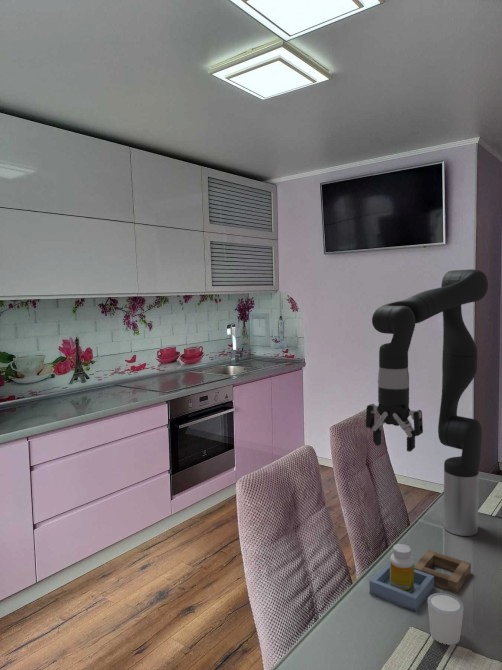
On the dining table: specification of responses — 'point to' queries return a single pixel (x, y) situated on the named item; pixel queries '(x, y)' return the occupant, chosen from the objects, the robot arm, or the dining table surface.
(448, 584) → the collar
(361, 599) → the dining table surface
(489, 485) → the dining table surface
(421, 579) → the tray
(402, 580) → the supplement bottle
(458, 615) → the shot glass
